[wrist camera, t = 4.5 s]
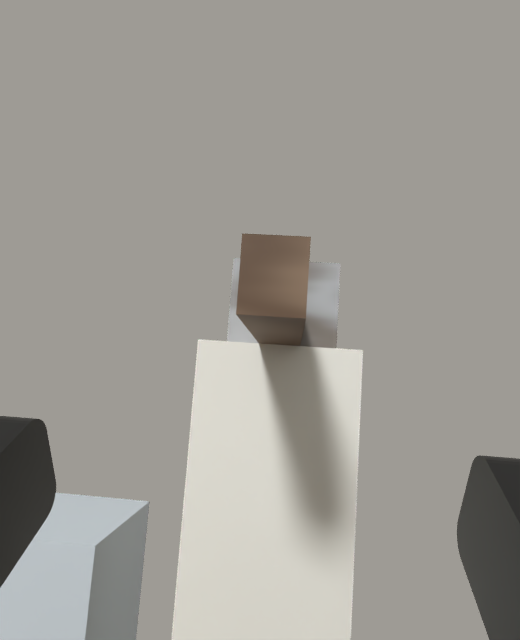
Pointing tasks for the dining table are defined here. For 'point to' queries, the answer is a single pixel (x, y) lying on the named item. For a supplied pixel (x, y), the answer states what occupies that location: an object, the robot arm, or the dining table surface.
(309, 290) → the mallet
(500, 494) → the robot arm
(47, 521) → the short pedestal
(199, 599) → the tall pedestal
